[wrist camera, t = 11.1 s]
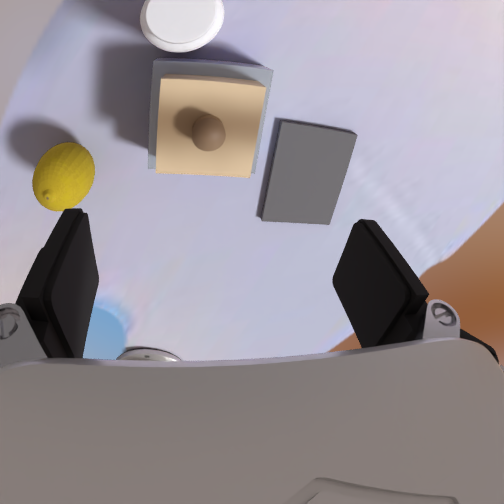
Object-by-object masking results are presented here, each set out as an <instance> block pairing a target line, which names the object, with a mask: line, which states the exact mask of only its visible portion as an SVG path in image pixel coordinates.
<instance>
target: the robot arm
mask: <svg viewBox="0 0 504 504" xmlns="http://www.w3.org/2000/svg"><path fill="white" fill-rule="evenodd" d="M98 283H99V275H98V270H97V265H96V260H95V254H94V249H93V243H92V238H91V232H90V225H89V219H88V214H87V213H83V211H82V209H81V208H73V209H65V210H64V211H63V213H62V215H61V217H60V218H59V220H58V222H57V224H56V225H55V227H54V229H53V231H52V233H51V235H50V236H49V238H48V240H47V242H46V244H45V246H44V247H43V248H41V250H40V251H39V253H38V255H37V257H36V259H35V261H34V263H33V265H32V267H31V269H30V271H29V274H28V276H27V278H26V280H25V282H24V285H23V287H22V289H21V291H20V294H19V296H18V298H17V301H16V303H15V304H12V303H6V304H2V305H0V504H504V367H503V366H502V365H500V366H499V361H498V357H497V355H496V352H495V350H494V349H493V348H492V347H491V346H489V345H487V344H486V343H484V342H482V341H481V340H479V339H477V338H476V337H474V336H472V335H470V334H469V333H467V332H465V331H464V330H462V329H460V320H459V317H458V314H457V313H456V311H455V310H454V309H453V308H452V307H451V306H450V305H449V304H447V303H446V302H444V301H441V300H432V301H430V302H429V303H428V304H427V303H426V301H425V300H426V298H427V297H428V295H429V293H428V292H427V290H426V289H425V287H424V286H423V284H422V283H421V282H420V280H419V279H418V277H417V276H416V274H415V273H414V272H413V270H412V269H411V267H410V266H409V265H408V263H407V262H406V260H405V259H404V258H403V256H402V255H401V254H400V252H399V251H398V250H397V248H396V247H395V246H394V244H393V243H392V242H391V240H390V239H389V238H388V237H387V235H386V234H385V233H384V231H383V230H382V229H381V228H380V226H379V225H378V224H377V222H376V221H374V220H366V219H360V220H359V221H358V222H357V223H355V224H354V225H353V227H352V230H351V233H350V235H349V238H348V240H347V243H346V245H345V248H344V251H343V253H342V256H341V258H340V261H339V263H338V266H337V268H336V270H335V273H334V275H333V286H334V288H335V290H336V292H337V295H338V297H339V299H340V301H341V303H342V305H343V307H344V309H345V312H346V314H347V316H348V318H349V320H350V322H351V325H352V327H353V329H354V331H355V333H356V336H357V338H358V340H359V342H360V344H361V347H362V348H361V349H354V350H346V351H337V352H328V353H319V354H309V355H299V356H287V357H274V358H259V359H241V360H215V361H182V360H180V359H179V358H178V357H176V356H174V355H172V354H169V353H167V352H163V351H159V350H152V349H137V350H131V351H128V352H125V353H123V354H121V355H120V356H119V357H118V358H117V359H116V360H103V359H84V358H83V352H84V346H85V341H86V336H87V331H88V327H89V322H90V317H91V313H92V308H93V304H94V300H95V296H96V292H97V288H98Z"/></svg>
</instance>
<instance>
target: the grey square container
mask: <svg viewBox="0 0 504 504" xmlns="http://www.w3.org/2000/svg"><path fill="white" fill-rule="evenodd" d="M165 74H187V75H203V76H216V77H227V78H236V79H245V80H253V81H259V82H260V83H261V84H263V85H264V86H265V87H266V92H265V98H264V103H263V109H262V114H261V119H260V125H259V130H258V136H257V141H256V147H255V152H254V158H253V164H252V169H251V173H254V174H255V169H256V164H257V158H258V153H259V147H260V142H261V136H262V130H263V125H264V119H265V114H266V108H267V103H268V98H269V92H270V87H271V81H272V76H273V70H271V69H269V68H267V67H265V66H261V65H254V64H246V63H238V62H228V61H218V60H205V59H187V58H158V59H156V60H154V61H153V69H152V81H151V96H150V113H149V139H148V169H156V149H157V127H158V111H159V97H160V85H161V78H162V77H163V76H164V75H165Z"/></svg>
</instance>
